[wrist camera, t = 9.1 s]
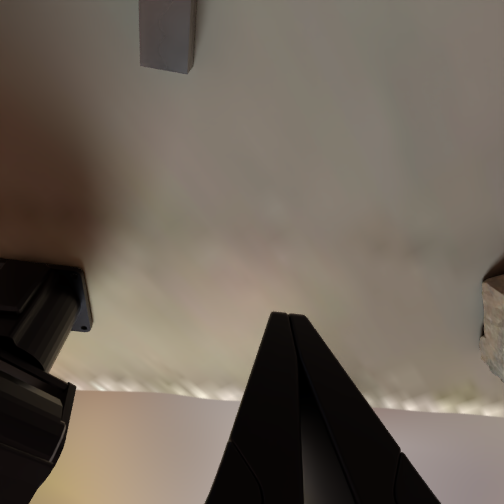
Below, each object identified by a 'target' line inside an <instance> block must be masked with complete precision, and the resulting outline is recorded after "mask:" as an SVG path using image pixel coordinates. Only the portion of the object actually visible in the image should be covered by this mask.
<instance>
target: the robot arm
mask: <svg viewBox="0 0 504 504" xmlns="http://www.w3.org/2000/svg"><path fill="white" fill-rule="evenodd" d="M74 274H76V275H74ZM91 328H92V319H91V313H90V308H89V302H88V296H87V290H86V284H85V278H84V273H83V271H82V270H81V269H79V268H77V267H70V266H61V265H52V264H44V263H35V262H26V261H18V260H9V259H0V504H29V502H30V501H31V499H32V497H33V495H34V494H35V492H36V491H37V489H38V488H39V487H40V486H41V484H42V483H43V482H44V481H45V480H46V478H47V477H48V476H49V474H50V473H51V471H52V469H53V468H54V466H55V465H56V463H57V460H58V459H59V457H60V454H61V452H62V450H63V447H64V443H65V440H66V435H67V430H68V425H69V420H70V415H71V410H72V406H73V401H74V396H75V391H76V386H75V385H73V384H71V383H69V382H68V383H66V382H64V381H62V380H61V379H59V378H57V377H55V376H53V375H51V374H49V371H50V369H51V368H52V366H53V364H54V362H55V360H56V358H57V356H58V354H59V352H60V350H61V348H62V346H63V345H64V343H65V341H66V339H67V337H68V335H69V333H70V331H79V332H89V331H90V330H91ZM205 504H441V503H440V502H439V500H438V499H437V498H436V496H435V495H434V494H433V492H432V491H431V490H430V488H429V487H428V486H427V484H426V483H425V481H424V480H423V479H422V477H421V476H420V475H419V474H418V472H417V471H416V469H415V468H414V467H413V465H412V464H411V462H410V461H409V460H408V458H407V457H406V455H405V454H404V453H403V452H401V449H400V447H399V446H398V444H397V443H396V442H395V440H394V439H393V437H392V436H391V435H390V433H389V432H388V430H387V429H386V428H385V426H384V425H383V423H382V422H381V421H380V419H379V418H378V416H377V415H376V414H375V412H374V411H373V409H372V408H371V407H370V405H369V404H368V402H367V401H366V399H365V398H364V397H363V395H362V394H361V392H360V391H359V390H358V388H357V387H356V385H355V384H354V383H353V381H352V380H351V378H350V377H349V376H348V374H347V373H346V371H345V370H344V369H343V367H342V366H341V364H340V363H339V362H338V360H337V359H336V357H335V356H334V355H333V353H332V352H331V350H330V349H329V348H328V346H327V345H326V343H325V342H324V341H323V339H322V338H321V336H320V335H319V334H318V332H317V331H316V329H315V328H314V327H313V325H312V324H311V322H310V321H309V320H308V318H307V317H306V316H305V315H301V314H292V313H291V314H287V313H282V312H271V314H270V317H269V320H268V323H267V326H266V329H265V332H264V335H263V338H262V341H261V344H260V347H259V350H258V353H257V356H256V359H255V362H254V365H253V368H252V371H251V374H250V377H249V380H248V383H247V386H246V389H245V392H244V395H243V398H242V401H241V404H240V407H239V410H238V413H237V416H236V419H235V422H234V425H233V428H232V431H231V434H230V437H229V440H228V442H227V445H226V448H225V451H224V454H223V457H222V460H221V463H220V466H219V468H218V471H217V474H216V476H215V479H214V482H213V484H212V487H211V490H210V492H209V495H208V497H207V499H206V501H205Z"/></svg>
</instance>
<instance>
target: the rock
mask: <svg viewBox="0 0 504 504" xmlns="http://www.w3.org/2000/svg"><path fill="white" fill-rule="evenodd" d="M482 290H483V292H482V297H483V305H484V319H483V322H484V333H485V335H483V336H482V337H481V338H480V343H479V348H480V351H481V353H482V355H481V359H482V360H483V361H484V362H485V363H486V364H487V365H488V366H489V368H490V371H491V372H492V373H493V374H494V375H497V376H498V377H499V378H500V379H501V380H502V382H504V274H503V275H499V276H495V277H492V278H489V279H486V280H485V281H484V282H483V283H482Z"/></svg>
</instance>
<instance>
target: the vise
mask: <svg viewBox="0 0 504 504" xmlns="http://www.w3.org/2000/svg"><path fill="white" fill-rule="evenodd" d="M196 6H197V0H139V31H140V66H144V67H150V68H155V69H161V70H166V71H172V72H177V73H183V74H188V73H189V71H190V70H191V69H192V67H193V59H194V41H195V24H196Z"/></svg>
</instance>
